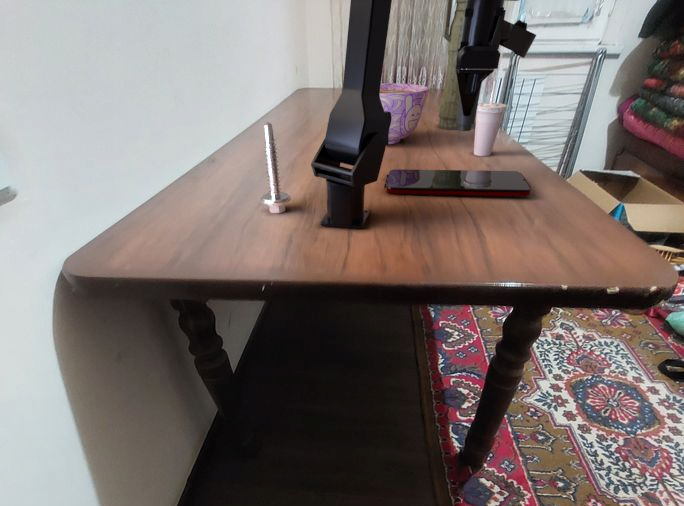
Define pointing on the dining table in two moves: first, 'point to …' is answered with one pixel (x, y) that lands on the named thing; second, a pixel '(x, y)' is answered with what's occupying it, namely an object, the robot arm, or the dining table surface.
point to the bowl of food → (402, 107)
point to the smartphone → (457, 182)
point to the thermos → (452, 67)
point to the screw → (273, 175)
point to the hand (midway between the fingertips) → (466, 114)
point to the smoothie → (487, 125)
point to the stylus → (467, 121)
